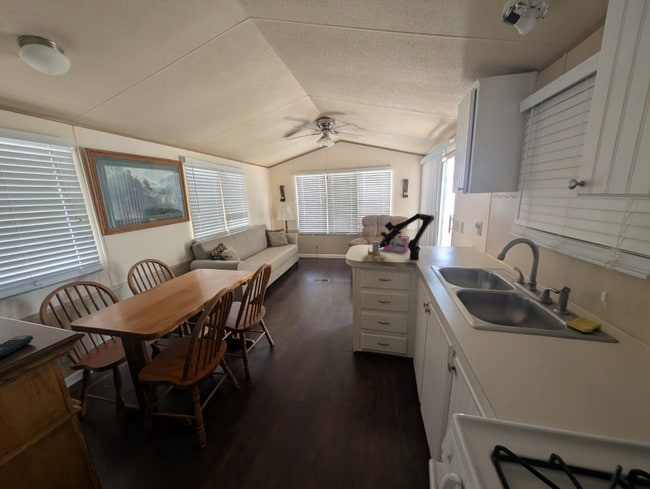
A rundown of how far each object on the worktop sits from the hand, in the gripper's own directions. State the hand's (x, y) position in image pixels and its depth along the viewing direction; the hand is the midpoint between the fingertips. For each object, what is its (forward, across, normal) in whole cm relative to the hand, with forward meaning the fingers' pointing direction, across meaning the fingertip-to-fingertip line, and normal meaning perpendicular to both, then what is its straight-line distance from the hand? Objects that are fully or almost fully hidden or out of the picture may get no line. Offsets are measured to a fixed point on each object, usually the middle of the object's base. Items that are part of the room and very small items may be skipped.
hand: (379, 246), depth 217 cm
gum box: (-6, -21, +16) cm, 28 cm away
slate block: (+8, 0, +3) cm, 8 cm away
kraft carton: (+6, +15, +4) cm, 17 cm away
